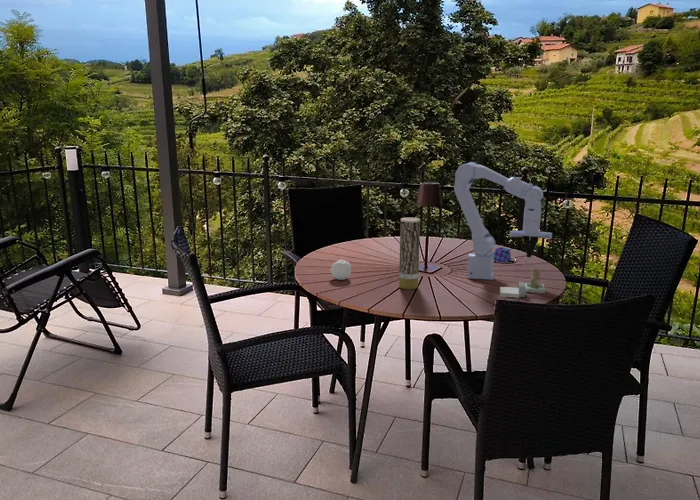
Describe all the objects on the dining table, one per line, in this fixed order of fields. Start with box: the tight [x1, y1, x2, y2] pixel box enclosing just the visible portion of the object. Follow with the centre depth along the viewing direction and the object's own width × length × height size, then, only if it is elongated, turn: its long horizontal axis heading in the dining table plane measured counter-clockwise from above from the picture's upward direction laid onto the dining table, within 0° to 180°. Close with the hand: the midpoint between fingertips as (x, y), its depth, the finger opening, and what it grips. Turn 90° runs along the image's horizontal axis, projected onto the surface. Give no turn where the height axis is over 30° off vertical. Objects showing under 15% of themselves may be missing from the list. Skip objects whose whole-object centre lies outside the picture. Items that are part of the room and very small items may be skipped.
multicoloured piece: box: [493, 247, 517, 264], centre depth 236 cm, size 12×12×5 cm
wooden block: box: [517, 281, 526, 298], centre depth 190 cm, size 2×5×4 cm, turn 167°
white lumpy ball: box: [330, 259, 352, 281], centre depth 208 cm, size 8×8×8 cm
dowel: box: [530, 268, 541, 289], centre depth 195 cm, size 3×3×7 cm
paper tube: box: [398, 217, 421, 291], centre depth 196 cm, size 7×7×25 cm
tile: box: [499, 286, 520, 299], centre depth 191 cm, size 6×7×2 cm
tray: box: [525, 282, 546, 294], centre depth 196 cm, size 6×6×2 cm
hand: (528, 256), depth 202 cm, fingers closed
